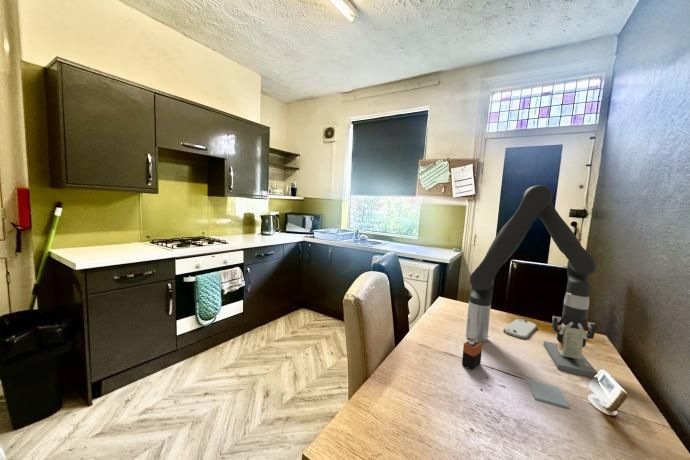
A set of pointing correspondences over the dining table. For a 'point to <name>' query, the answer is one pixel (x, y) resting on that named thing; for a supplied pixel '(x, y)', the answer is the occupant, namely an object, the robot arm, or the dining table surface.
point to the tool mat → (547, 393)
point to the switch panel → (569, 361)
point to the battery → (472, 354)
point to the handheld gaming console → (520, 328)
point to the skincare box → (571, 343)
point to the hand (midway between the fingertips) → (570, 344)
